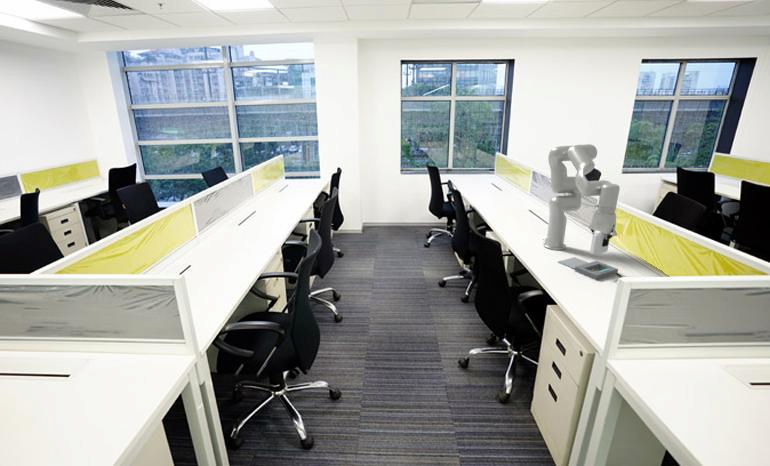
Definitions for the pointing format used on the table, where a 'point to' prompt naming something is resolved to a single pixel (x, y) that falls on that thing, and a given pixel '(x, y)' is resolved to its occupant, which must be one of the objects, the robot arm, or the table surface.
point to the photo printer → (598, 243)
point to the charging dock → (596, 275)
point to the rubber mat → (572, 262)
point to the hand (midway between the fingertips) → (600, 243)
